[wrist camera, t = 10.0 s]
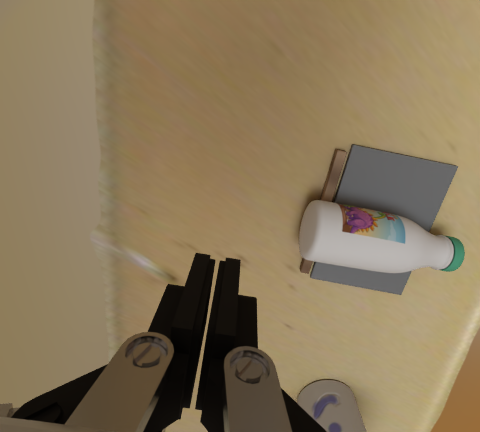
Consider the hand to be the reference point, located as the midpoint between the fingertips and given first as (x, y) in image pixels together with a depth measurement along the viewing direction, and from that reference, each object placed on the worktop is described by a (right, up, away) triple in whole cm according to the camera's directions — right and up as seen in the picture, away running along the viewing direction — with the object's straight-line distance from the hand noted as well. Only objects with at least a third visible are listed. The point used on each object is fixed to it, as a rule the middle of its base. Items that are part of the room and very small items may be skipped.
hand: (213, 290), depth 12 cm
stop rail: (+12, +3, +33) cm, 36 cm away
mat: (+20, +2, +34) cm, 40 cm away
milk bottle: (+9, +1, +29) cm, 30 cm away
